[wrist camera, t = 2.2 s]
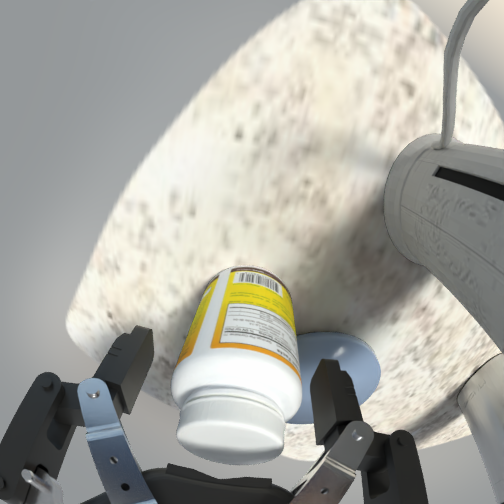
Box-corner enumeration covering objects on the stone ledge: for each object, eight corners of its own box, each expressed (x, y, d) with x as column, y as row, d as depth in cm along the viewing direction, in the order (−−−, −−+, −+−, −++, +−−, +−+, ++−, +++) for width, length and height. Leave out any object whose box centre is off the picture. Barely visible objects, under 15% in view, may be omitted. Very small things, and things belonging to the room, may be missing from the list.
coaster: (399, 337, 18) (403, 345, 17) (346, 416, 22) (348, 424, 21) (259, 321, 18) (258, 331, 17) (237, 409, 22) (236, 417, 21)
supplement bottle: (225, 341, 19) (199, 472, 9) (191, 276, 17) (123, 410, 7) (302, 321, 18) (319, 463, 8) (276, 248, 16) (282, 397, 6)
